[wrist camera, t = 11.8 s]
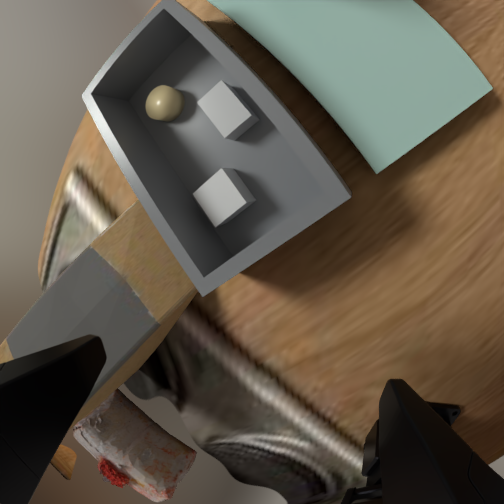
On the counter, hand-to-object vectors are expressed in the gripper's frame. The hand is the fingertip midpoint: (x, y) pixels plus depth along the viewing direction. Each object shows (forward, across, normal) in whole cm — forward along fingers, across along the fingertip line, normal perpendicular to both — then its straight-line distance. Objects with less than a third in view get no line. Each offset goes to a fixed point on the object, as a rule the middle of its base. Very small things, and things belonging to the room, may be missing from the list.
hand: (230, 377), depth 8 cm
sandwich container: (+13, +12, +6) cm, 19 cm away
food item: (+12, +14, +24) cm, 31 cm away
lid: (+12, -4, -15) cm, 19 cm away
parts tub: (+12, +4, -7) cm, 15 cm away
